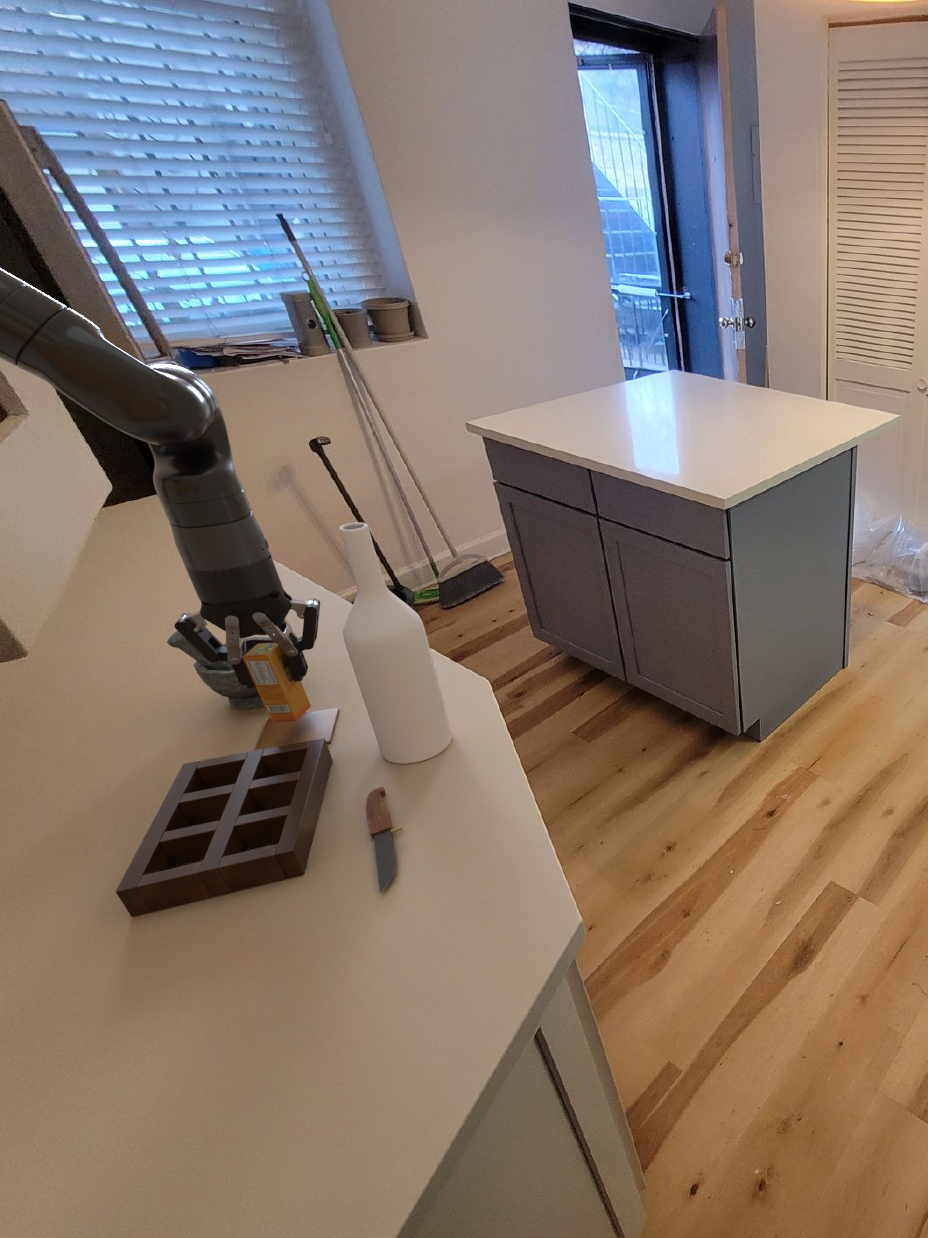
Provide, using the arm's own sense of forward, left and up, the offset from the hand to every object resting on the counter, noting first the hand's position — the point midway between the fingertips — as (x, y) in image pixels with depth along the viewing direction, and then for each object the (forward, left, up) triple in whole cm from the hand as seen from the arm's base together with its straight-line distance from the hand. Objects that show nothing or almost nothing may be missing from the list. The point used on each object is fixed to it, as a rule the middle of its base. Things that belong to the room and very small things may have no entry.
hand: (277, 680), depth 86 cm
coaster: (0, 0, -8) cm, 8 cm away
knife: (+12, -25, -8) cm, 29 cm away
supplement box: (0, 0, -5) cm, 5 cm away
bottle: (+14, -8, -8) cm, 18 cm away
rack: (-2, -17, -8) cm, 19 cm away
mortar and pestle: (-7, +11, -8) cm, 15 cm away
